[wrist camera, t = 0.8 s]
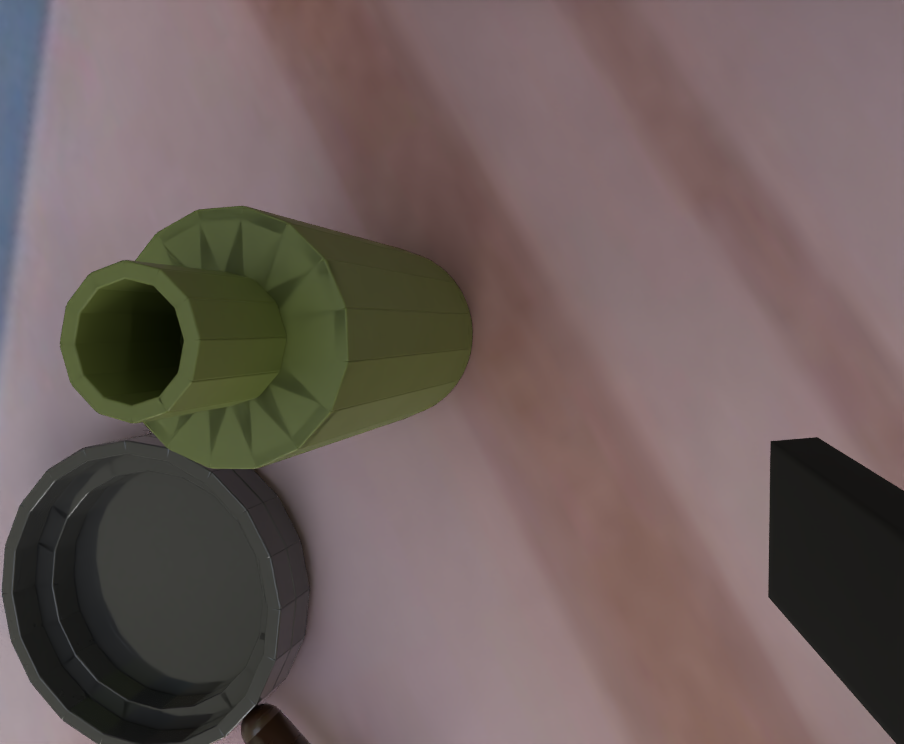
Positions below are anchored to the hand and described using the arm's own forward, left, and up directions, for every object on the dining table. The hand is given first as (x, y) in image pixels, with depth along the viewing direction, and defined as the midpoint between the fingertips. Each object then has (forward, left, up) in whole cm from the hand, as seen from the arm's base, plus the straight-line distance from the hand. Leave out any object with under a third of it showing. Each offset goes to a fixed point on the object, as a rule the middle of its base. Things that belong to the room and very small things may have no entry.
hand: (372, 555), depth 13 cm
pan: (+17, -7, -20) cm, 27 cm away
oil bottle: (+2, -7, -20) cm, 21 cm away
